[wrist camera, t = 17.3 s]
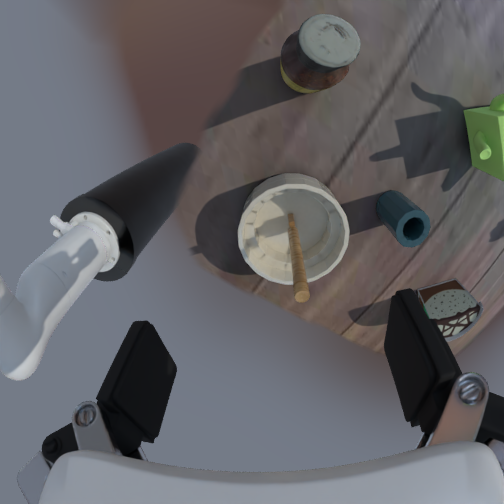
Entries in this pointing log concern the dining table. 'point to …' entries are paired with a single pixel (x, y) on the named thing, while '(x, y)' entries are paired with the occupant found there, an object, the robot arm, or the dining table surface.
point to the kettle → (487, 137)
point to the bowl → (306, 220)
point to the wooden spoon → (297, 263)
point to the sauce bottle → (319, 53)
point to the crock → (403, 218)
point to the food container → (450, 307)
